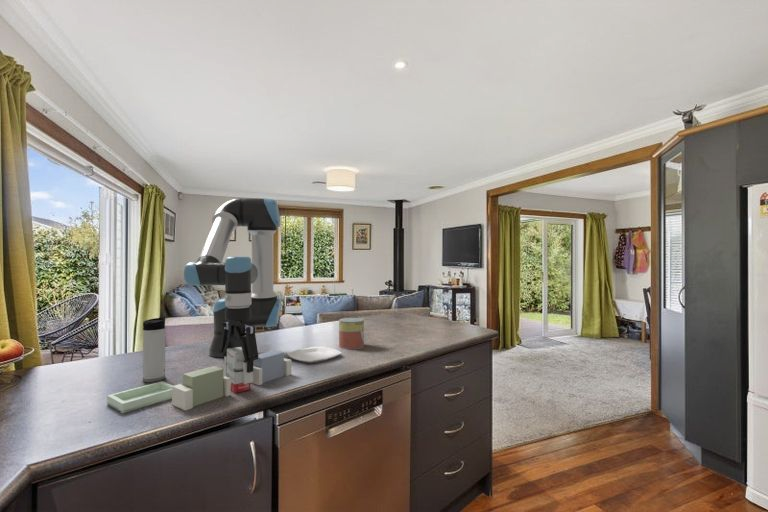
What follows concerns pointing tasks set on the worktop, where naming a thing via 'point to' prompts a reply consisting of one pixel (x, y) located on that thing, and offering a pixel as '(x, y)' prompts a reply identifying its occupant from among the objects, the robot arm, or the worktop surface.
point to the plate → (314, 354)
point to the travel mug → (154, 349)
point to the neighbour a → (205, 384)
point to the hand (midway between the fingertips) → (238, 379)
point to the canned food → (351, 333)
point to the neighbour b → (270, 365)
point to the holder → (184, 395)
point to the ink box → (236, 369)
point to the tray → (140, 397)
